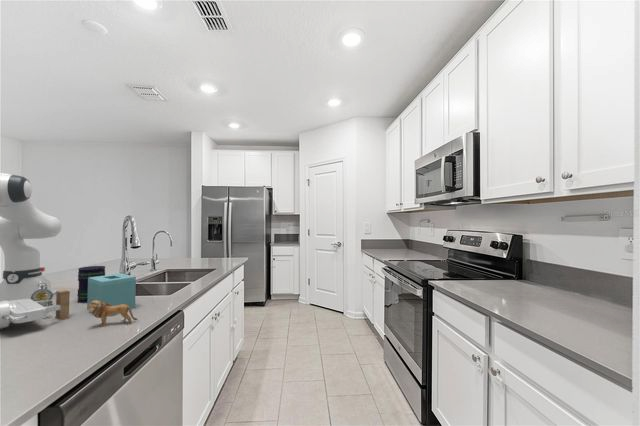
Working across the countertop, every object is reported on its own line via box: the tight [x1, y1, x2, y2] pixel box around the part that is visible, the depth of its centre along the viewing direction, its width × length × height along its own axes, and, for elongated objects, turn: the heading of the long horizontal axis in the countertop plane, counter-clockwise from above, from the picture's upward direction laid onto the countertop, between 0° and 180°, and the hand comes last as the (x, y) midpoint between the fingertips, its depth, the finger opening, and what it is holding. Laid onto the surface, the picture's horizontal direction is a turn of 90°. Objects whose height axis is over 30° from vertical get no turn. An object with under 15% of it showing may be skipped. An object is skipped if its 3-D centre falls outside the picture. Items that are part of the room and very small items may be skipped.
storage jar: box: [76, 265, 106, 304], centre depth 130 cm, size 10×10×15 cm
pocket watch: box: [31, 283, 54, 307], centre depth 118 cm, size 8×8×10 cm
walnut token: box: [55, 289, 71, 321], centre depth 106 cm, size 5×2×10 cm, turn 57°
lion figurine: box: [87, 300, 138, 328], centre depth 100 cm, size 15×5×9 cm, turn 116°
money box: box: [86, 272, 137, 310], centre depth 118 cm, size 14×12×13 cm
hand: (55, 304), depth 105 cm, fingers open, 8 cm apart
